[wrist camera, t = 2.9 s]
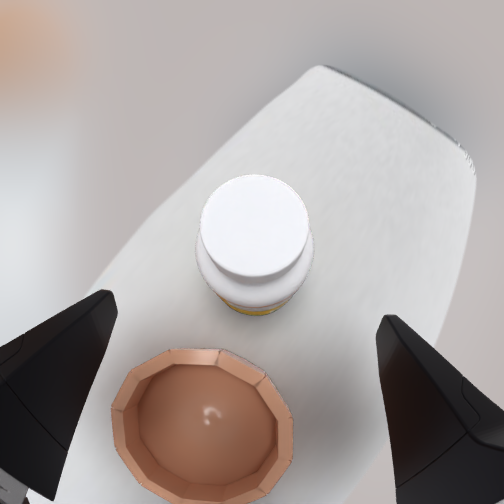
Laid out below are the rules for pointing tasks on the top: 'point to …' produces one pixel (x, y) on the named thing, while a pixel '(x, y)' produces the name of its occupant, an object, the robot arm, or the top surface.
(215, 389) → the terracotta bowl
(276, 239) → the supplement bottle
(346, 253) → the top surface
